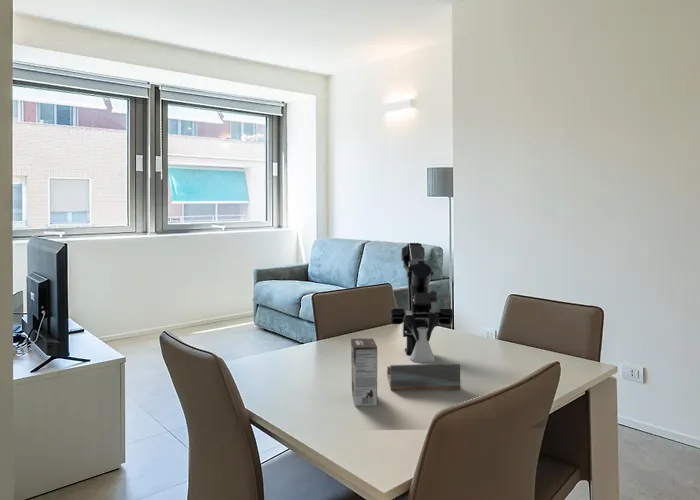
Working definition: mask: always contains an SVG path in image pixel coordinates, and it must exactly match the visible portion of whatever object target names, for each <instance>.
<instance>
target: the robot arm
mask: <svg viewBox="0 0 700 500" xmlns="http://www.w3.org/2000/svg"><path fill="white" fill-rule="evenodd" d="M400 255H401V258H400V259H401V261H402V264H403V268H404V270H405V271H406V278H407V292H408V297H407V299H408V309H407V310H405V308H404V307H392V308H391V309H390V324H391V325H402V338H406V348H404V352H405V354H406V355H410V356H411V355H412V352H413V350H414V347H415V344H416V342H417V341H418V330H417V328H419V327H425V328H428V331H427V336H428V342H430V340H431V337H432V334H433V331H434V329H435V328H436V327H439V324H440V325H445V326H446V325H447V326H449V325H451V324H452V323H453V317H454V310H453V309H452V308H451V307H439V310H438V312H437V311H431V310H432V304H436V303H437V302H438V296H437V294H438V293H437V291H436V290H435V291H433V290H431V291H430V288H429V286H430V282H431V278H432V276H434V271H433V270H432V268H431V267H430V266H429V263H428V261H426V260H425V257H426V256H425V247H424V246H422V243H420V242H409V243H407V245H406V246H403V247H402V248H401V254H400Z"/></svg>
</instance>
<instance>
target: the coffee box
mask: <svg viewBox="0 0 700 500" xmlns="http://www.w3.org/2000/svg"><path fill="white" fill-rule="evenodd" d="M350 347H351V349H350V351H351V352H350V355H351V358H350V360H351V361H350V362H351V366H350V367H351V397H352V401H353V404H354V407H365V406H367V407H368V406H372V407H373V406H378V346H377V344H376V341H375V340H374V338H350Z"/></svg>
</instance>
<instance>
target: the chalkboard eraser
mask: <svg viewBox="0 0 700 500" xmlns="http://www.w3.org/2000/svg"><path fill="white" fill-rule="evenodd" d="M386 368H387V369H386V376H387V380H388V385H389V388H390V389H389V390H390V391H450V390H451V391H454V390H455V391H459V390H461V364H459V363H455V364H454V363H447V364H445V363H443V364H442V363H439V364H438V363H435V364H432V363H427V364H420V363H419V364H390V365H389V366H388V365H387V366H386Z"/></svg>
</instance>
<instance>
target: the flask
mask: <svg viewBox="0 0 700 500" xmlns="http://www.w3.org/2000/svg"><path fill="white" fill-rule="evenodd" d="M417 330H418V341H417V342H416V344H415V347H414V350H413V352H412V355H410V358H409V361H411V362H412V363H416V364H419V365H420V364H432V363H433V362H435V361H436V359H435V355H434V353H433V351H432V347H431V345H430V341H428V336H427V331H428V328H425V327H419V328H417Z"/></svg>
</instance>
